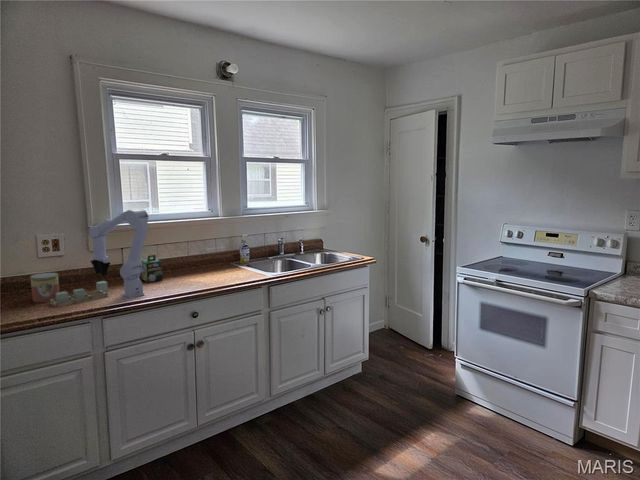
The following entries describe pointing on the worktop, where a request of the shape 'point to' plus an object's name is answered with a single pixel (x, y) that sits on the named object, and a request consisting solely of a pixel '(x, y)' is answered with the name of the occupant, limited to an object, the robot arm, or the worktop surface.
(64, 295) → the seated block
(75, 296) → the seated block
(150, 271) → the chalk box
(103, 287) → the loose block
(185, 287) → the worktop surface
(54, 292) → the canned food
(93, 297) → the rack
